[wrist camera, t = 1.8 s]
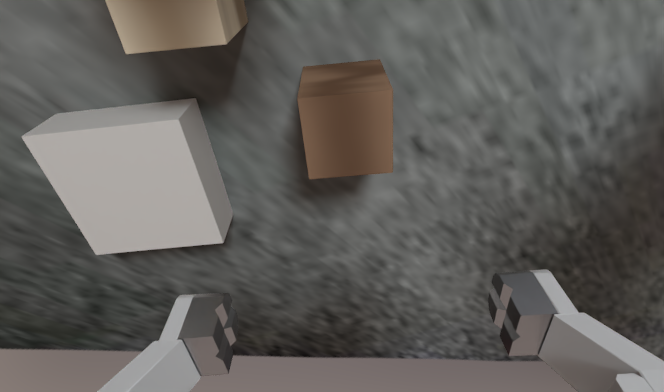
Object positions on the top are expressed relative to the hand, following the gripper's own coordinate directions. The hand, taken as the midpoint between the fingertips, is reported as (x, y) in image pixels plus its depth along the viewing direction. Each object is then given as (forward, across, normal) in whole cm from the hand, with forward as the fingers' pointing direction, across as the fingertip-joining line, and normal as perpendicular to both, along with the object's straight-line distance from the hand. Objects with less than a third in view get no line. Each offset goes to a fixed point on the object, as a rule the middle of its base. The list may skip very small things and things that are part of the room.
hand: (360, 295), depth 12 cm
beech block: (+17, +8, -8) cm, 21 cm away
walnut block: (+17, 0, 0) cm, 17 cm away
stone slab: (+18, +15, +4) cm, 23 cm away
